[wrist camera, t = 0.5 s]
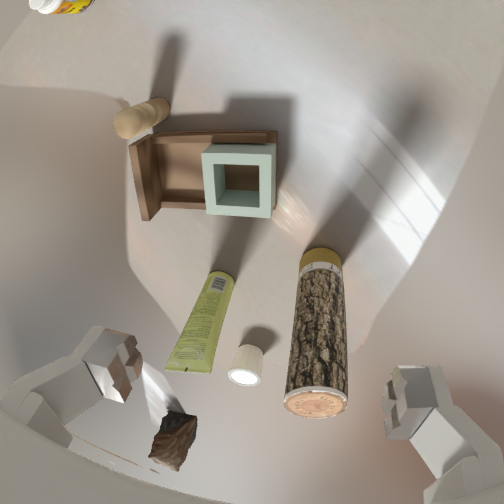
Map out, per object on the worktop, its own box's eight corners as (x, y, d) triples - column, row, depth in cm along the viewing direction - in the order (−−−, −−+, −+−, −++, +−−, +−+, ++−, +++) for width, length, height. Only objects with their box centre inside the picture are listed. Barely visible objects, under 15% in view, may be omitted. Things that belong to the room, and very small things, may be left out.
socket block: (213, 141, 40) (201, 153, 36) (275, 143, 39) (271, 154, 35) (216, 197, 45) (206, 214, 41) (275, 201, 44) (270, 218, 40)
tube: (224, 297, 58) (193, 386, 42) (201, 283, 57) (163, 371, 41) (240, 280, 55) (210, 373, 39) (215, 264, 54) (177, 356, 38)
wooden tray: (150, 132, 41) (128, 145, 36) (276, 131, 39) (270, 144, 34) (160, 200, 48) (142, 220, 43) (275, 206, 45) (270, 229, 40)
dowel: (146, 98, 38) (111, 111, 31) (169, 96, 38) (137, 108, 31) (148, 122, 41) (115, 139, 33) (171, 120, 40) (140, 137, 33)
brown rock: (198, 428, 102) (185, 474, 86) (166, 419, 103) (150, 463, 87) (197, 416, 94) (182, 467, 78) (162, 406, 95) (144, 455, 79)
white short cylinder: (272, 355, 66) (267, 381, 60) (249, 364, 69) (243, 389, 64) (250, 338, 64) (244, 365, 58) (228, 348, 67) (221, 374, 61)
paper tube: (305, 282, 52) (292, 419, 32) (294, 249, 49) (275, 392, 29) (345, 275, 50) (350, 415, 30) (337, 241, 47) (343, 386, 27)
